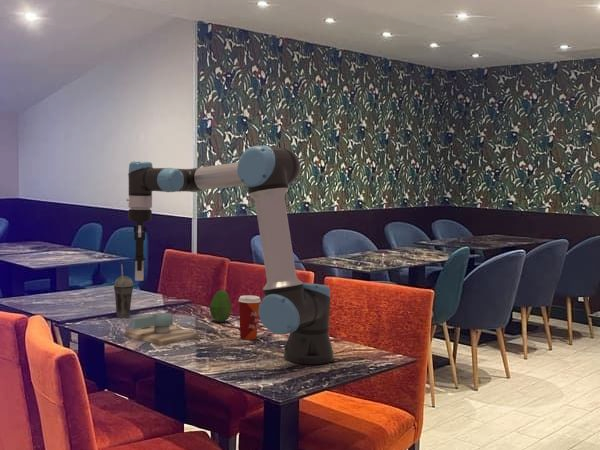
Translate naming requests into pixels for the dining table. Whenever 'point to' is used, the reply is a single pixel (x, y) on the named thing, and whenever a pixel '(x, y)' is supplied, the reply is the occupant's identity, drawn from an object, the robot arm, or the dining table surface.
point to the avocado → (220, 306)
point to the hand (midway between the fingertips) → (139, 280)
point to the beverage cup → (123, 295)
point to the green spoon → (152, 320)
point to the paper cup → (249, 316)
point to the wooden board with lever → (161, 334)
